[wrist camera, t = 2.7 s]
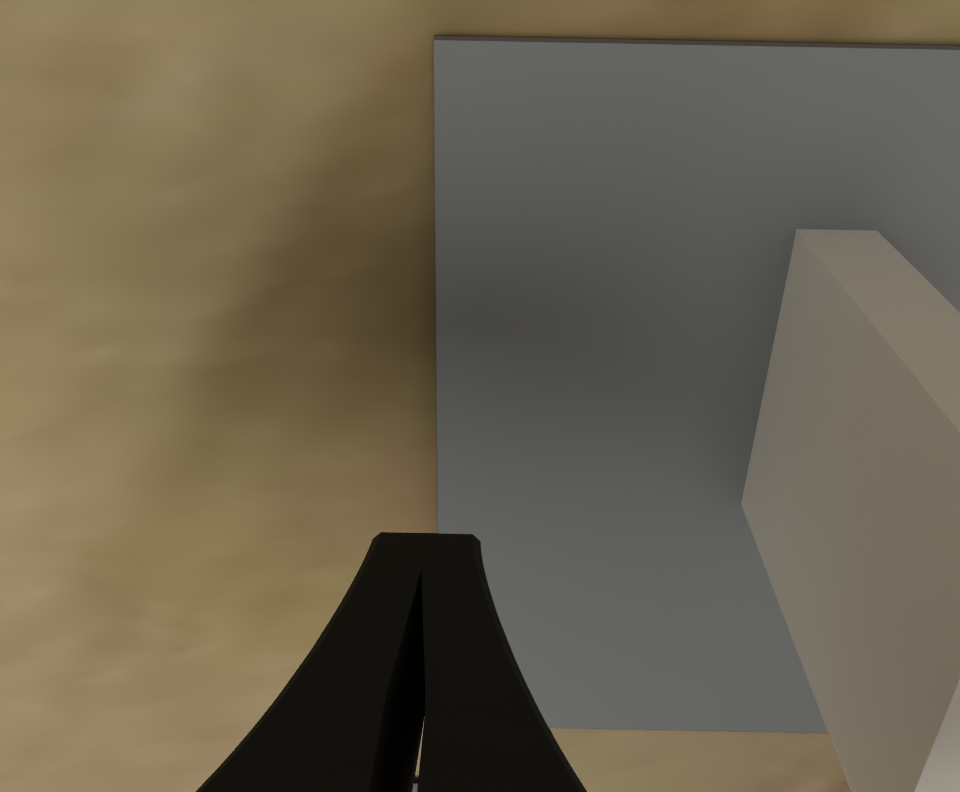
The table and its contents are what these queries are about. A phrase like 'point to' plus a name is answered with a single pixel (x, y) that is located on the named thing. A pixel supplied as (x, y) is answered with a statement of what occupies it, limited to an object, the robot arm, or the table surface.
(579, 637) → the mat
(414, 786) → the dark ornate flat tool
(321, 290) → the table surface
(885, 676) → the tile
